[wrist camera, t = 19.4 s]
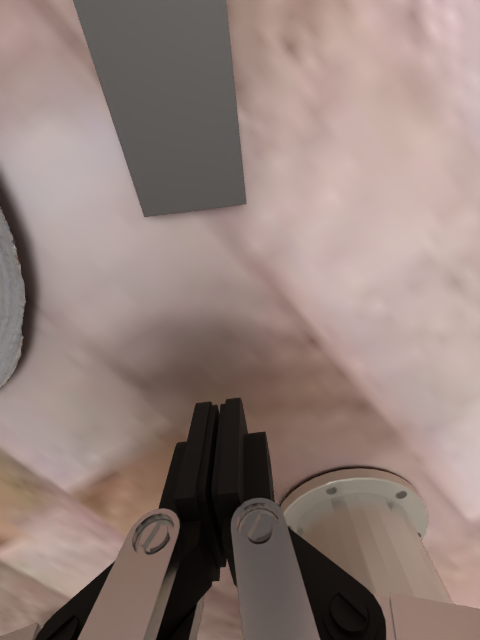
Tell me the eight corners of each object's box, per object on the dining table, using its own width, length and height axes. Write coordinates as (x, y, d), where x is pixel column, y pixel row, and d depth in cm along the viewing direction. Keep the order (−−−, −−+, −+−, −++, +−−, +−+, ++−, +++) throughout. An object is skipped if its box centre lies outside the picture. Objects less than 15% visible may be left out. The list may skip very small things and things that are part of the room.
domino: (246, 203, 15) (209, -161, 8) (144, 217, 15) (30, -129, 9) (243, 189, 17) (211, -132, 10) (151, 201, 17) (58, -105, 10)
